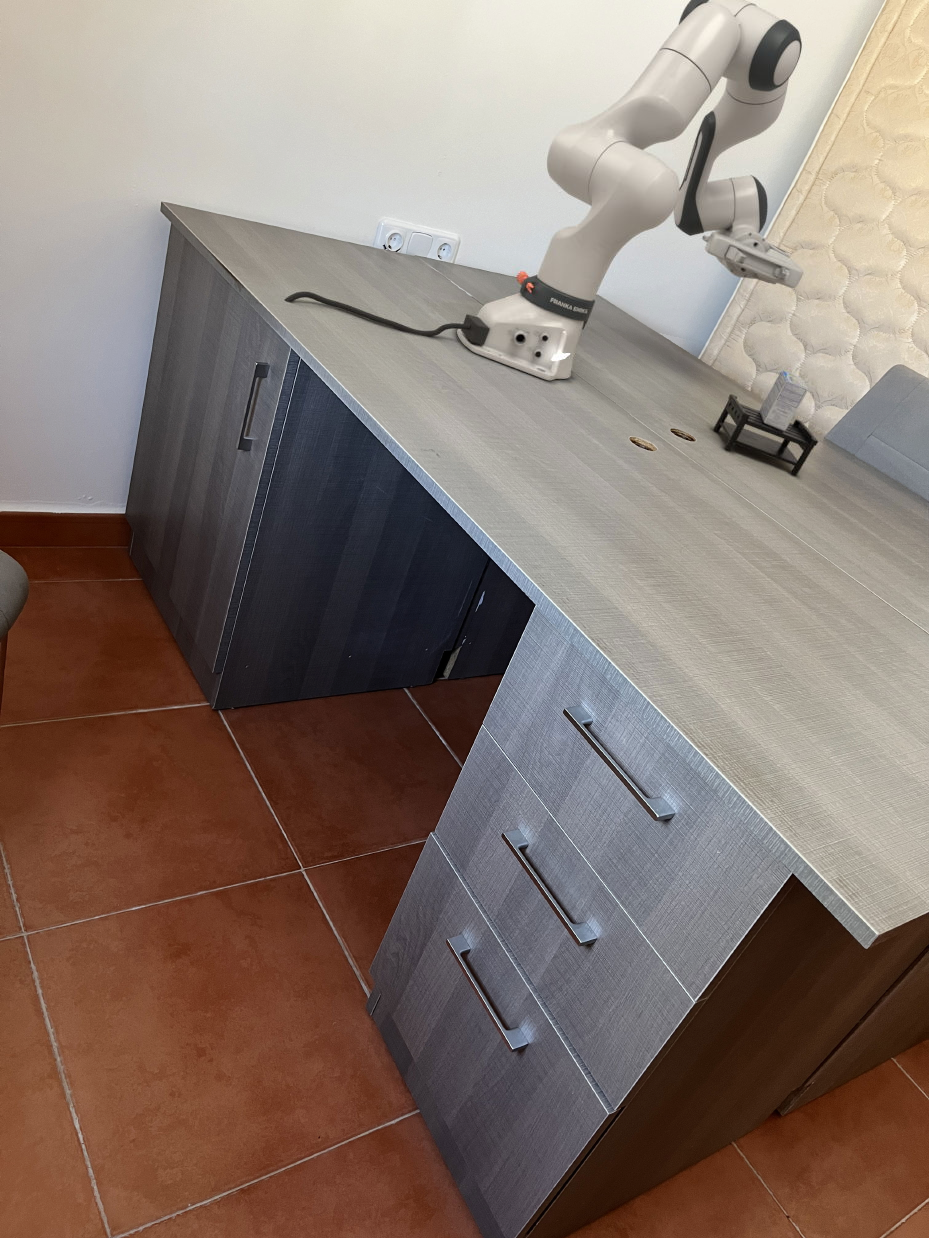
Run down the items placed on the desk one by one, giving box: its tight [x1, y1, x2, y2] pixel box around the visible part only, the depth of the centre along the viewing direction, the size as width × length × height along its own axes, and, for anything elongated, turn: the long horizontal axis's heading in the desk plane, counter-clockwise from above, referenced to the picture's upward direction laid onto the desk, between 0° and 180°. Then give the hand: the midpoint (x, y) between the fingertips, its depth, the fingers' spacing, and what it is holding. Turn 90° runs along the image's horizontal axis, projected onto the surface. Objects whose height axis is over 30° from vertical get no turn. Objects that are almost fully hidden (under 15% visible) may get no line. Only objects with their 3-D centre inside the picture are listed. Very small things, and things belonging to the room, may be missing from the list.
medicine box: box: [759, 370, 809, 432], centre depth 171 cm, size 8×4×9 cm, turn 169°
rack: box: [712, 394, 819, 477], centre depth 175 cm, size 15×11×7 cm
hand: (763, 268), depth 181 cm, fingers open, 8 cm apart
